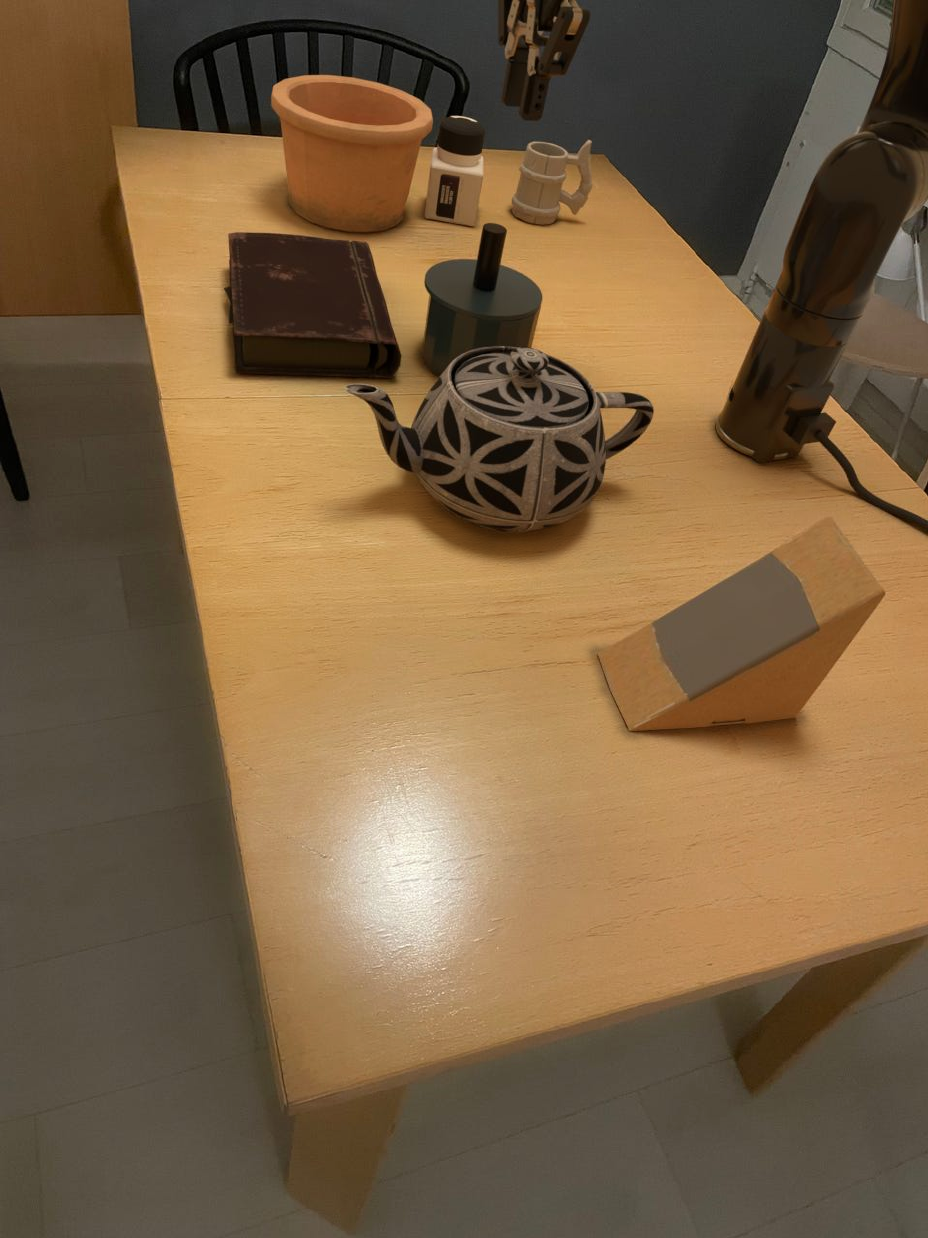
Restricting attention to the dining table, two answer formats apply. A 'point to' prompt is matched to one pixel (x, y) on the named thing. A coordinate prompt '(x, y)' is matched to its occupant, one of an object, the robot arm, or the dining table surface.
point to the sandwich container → (747, 639)
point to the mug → (549, 182)
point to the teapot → (508, 437)
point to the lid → (484, 283)
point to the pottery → (349, 149)
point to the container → (456, 172)
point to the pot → (468, 335)
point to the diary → (308, 307)
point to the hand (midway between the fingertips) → (520, 110)
